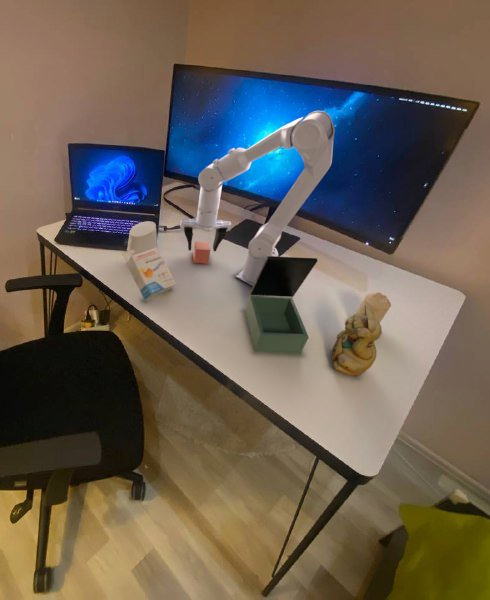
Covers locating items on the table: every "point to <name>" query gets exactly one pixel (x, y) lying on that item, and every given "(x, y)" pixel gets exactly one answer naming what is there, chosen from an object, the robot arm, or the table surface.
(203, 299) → the table surface
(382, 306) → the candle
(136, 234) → the smart speaker
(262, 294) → the black square lid
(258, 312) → the green open box
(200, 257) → the red block
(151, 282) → the ink box
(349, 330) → the decorative figurine
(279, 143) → the robot arm
